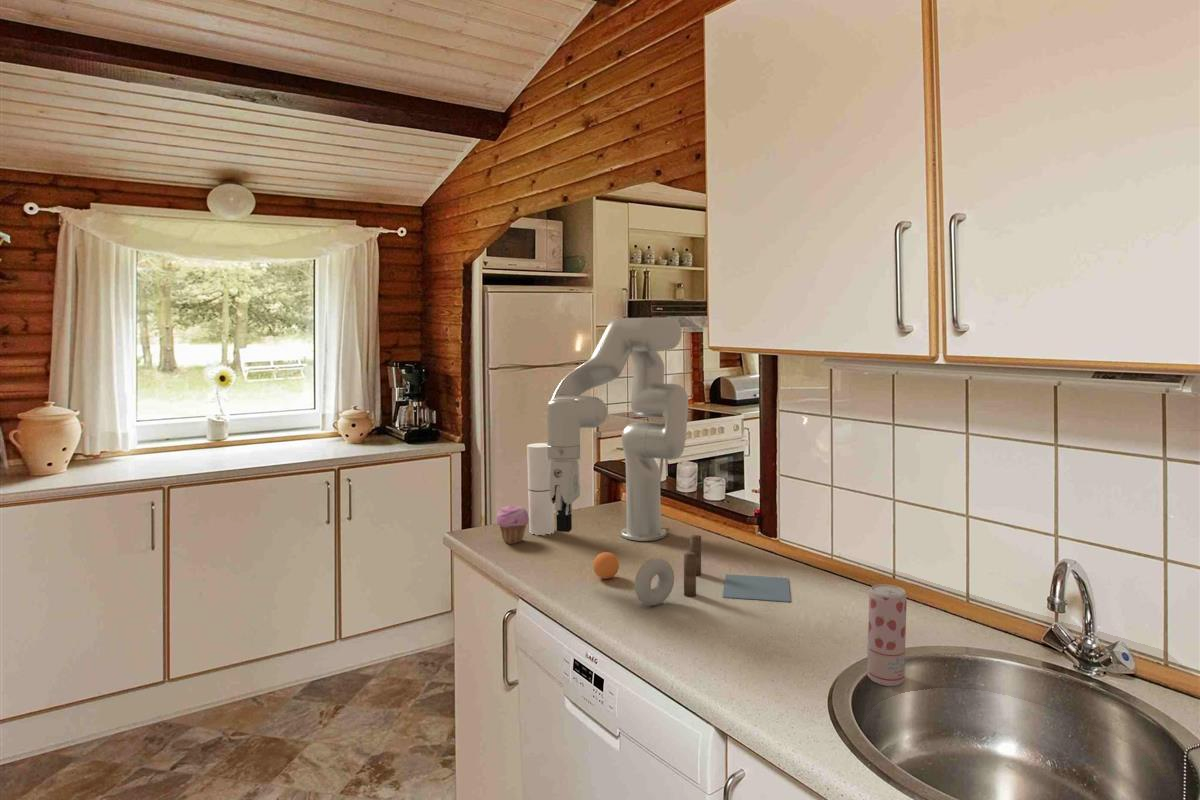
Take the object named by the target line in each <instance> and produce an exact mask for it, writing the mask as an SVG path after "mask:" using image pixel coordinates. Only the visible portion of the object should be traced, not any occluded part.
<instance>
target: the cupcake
mask: <svg viewBox="0 0 1200 800" xmlns="http://www.w3.org/2000/svg"><path fill="white" fill-rule="evenodd" d="M495 519H496V521H495V522H496V523H497V525H498V526H499V528H500V531H501V536H502V540H503V541H504V542H505V543H507V544H508V545H513V544H517V543H520V542H522V540H523V538H524V536H525V532H526V526H527V525H528V524H529V512H528V511H527V510H526V508H525V507H524V506H521V505H505V506H503V507H501V508H500V509H499V511H498V513H497V514H496V516H495Z"/></svg>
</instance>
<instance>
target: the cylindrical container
mask: <svg viewBox="0 0 1200 800" xmlns="http://www.w3.org/2000/svg"><path fill="white" fill-rule="evenodd" d="M526 457H527V458H526V459H527V493H528V517H529V520H528V525H529V526H528V527H529V528H528V531H529V532H530V533H531V534H530V533H529V534H530V535H532V534H535V535H534V536H538V535H542V536H546V535H545V534H549V535H552V534H554V533H555V503H554V504H553V503H551V501H550V466H551V460H548V459H547V442H538V443H530V444H527V445H526ZM551 533H552V534H551Z"/></svg>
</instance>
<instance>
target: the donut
mask: <svg viewBox="0 0 1200 800" xmlns="http://www.w3.org/2000/svg"><path fill="white" fill-rule="evenodd" d="M656 575H657V577H658V580H657V583H656V585H655V586H654V587H653V588H652V587H651V585H652V580H653V578H654V577H656ZM674 583H675V572H674V569H673V567H672V565H671V564H670V563H669V562H668V561H667V560H666V559H664V558H660V557H654V558H651V559H648V560H645V562H644V563H642V564H641V566H640V567H639V569H638V571H637V572H636V575H635V579H634V586H633V587H634V593H635V595H636V597H637V599H638V600H639V601H640V602H641V603H642V604H643V605H646V606H649V607H652V606H658V605H660V604H662V603H664V602H665V600H666V599H667V598H668V597H670V596H669V595H671V593H672V590H673V588H674Z"/></svg>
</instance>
